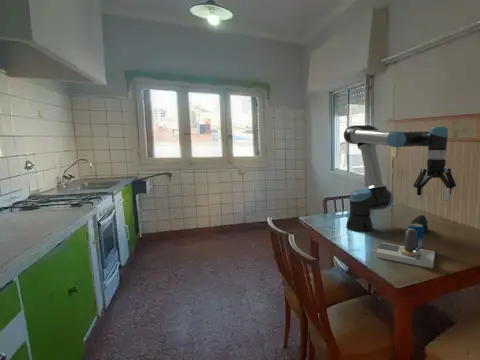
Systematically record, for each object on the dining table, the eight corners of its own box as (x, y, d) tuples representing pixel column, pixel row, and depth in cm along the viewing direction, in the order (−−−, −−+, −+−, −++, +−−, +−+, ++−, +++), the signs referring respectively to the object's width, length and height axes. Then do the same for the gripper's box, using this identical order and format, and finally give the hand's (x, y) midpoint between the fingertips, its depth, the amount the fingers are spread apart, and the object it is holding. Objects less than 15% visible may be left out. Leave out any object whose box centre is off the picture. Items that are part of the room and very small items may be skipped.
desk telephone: (375, 257, 134) (376, 248, 133) (381, 247, 146) (382, 239, 145) (432, 268, 121) (433, 258, 121) (434, 256, 133) (435, 247, 133)
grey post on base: (398, 259, 130) (400, 230, 129) (401, 254, 137) (402, 225, 135) (418, 263, 126) (420, 233, 124) (420, 257, 132) (422, 228, 130)
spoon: (412, 255, 124) (412, 248, 124) (415, 243, 137) (416, 237, 137) (421, 256, 123) (422, 249, 122) (424, 245, 136) (424, 239, 135)
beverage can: (408, 245, 148) (409, 222, 146) (423, 248, 144) (424, 224, 142) (405, 249, 143) (407, 225, 141) (421, 252, 139) (422, 227, 137)
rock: (433, 230, 162) (426, 213, 165) (414, 234, 164) (408, 217, 167) (426, 232, 173) (420, 215, 176) (409, 235, 175) (403, 219, 178)
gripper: (416, 159, 138) (413, 203, 141) (467, 158, 140) (463, 202, 142) (407, 158, 146) (404, 200, 149) (455, 157, 147) (451, 198, 150)
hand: (433, 201), depth 146 cm, fingers open, 13 cm apart
